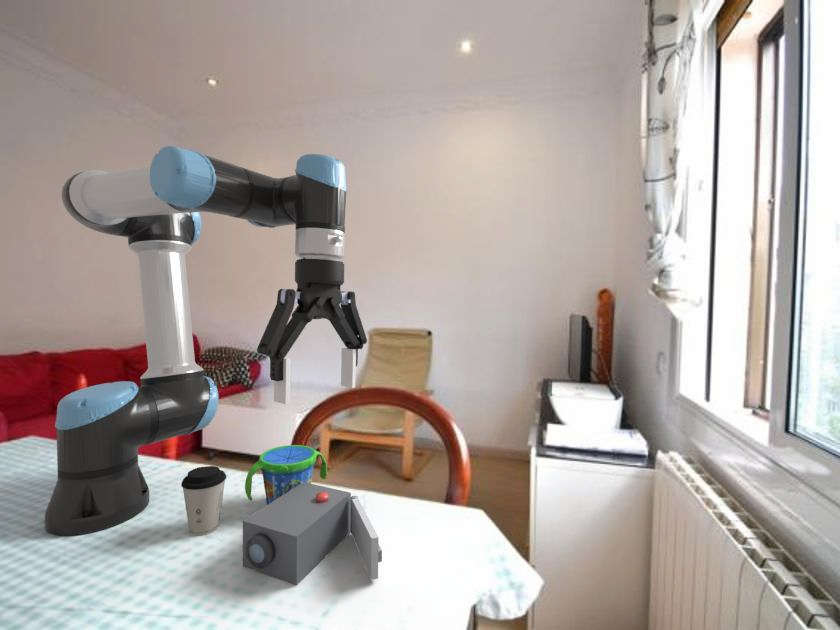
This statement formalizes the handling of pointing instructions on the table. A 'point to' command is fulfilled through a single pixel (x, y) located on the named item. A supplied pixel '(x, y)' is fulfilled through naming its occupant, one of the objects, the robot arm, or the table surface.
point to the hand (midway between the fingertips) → (317, 393)
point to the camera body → (296, 531)
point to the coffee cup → (203, 499)
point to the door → (365, 538)
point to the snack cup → (285, 469)
